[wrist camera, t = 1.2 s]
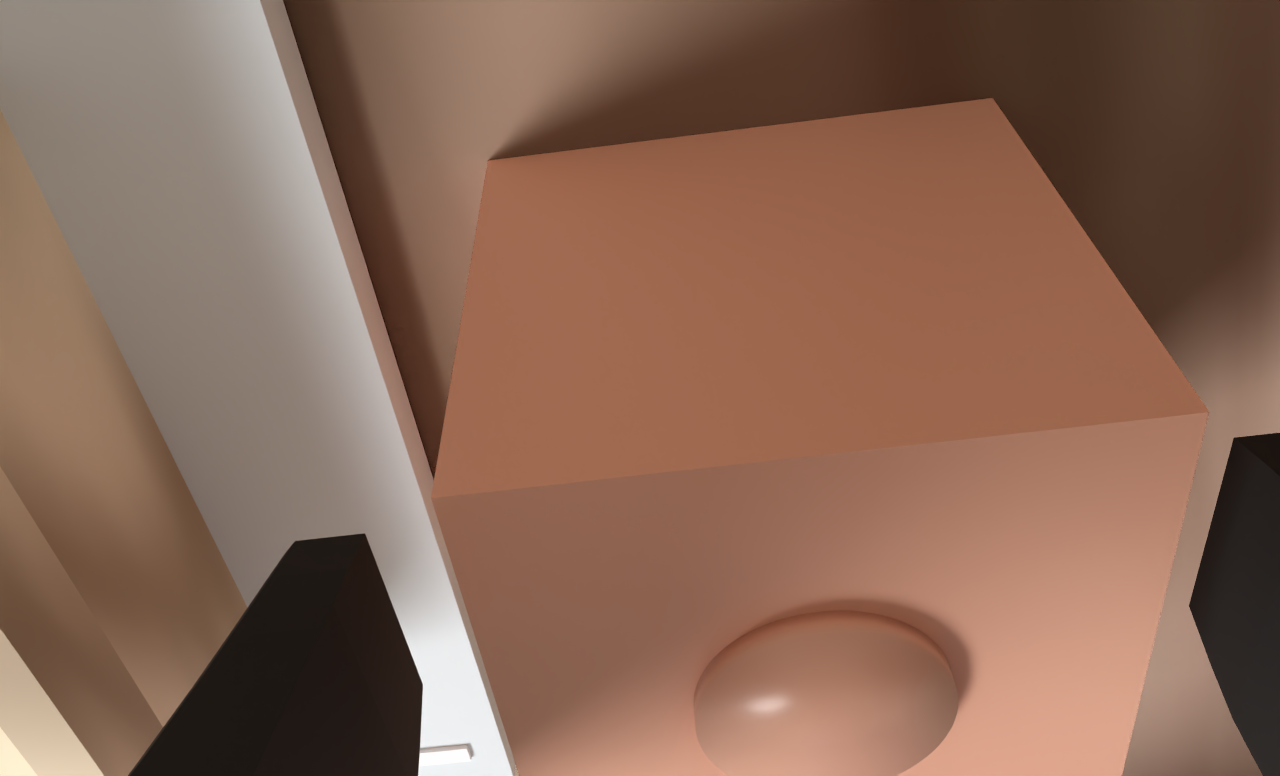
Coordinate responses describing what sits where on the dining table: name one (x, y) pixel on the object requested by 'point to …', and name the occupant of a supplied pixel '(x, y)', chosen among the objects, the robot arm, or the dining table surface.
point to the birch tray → (87, 523)
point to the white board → (245, 304)
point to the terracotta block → (809, 458)
